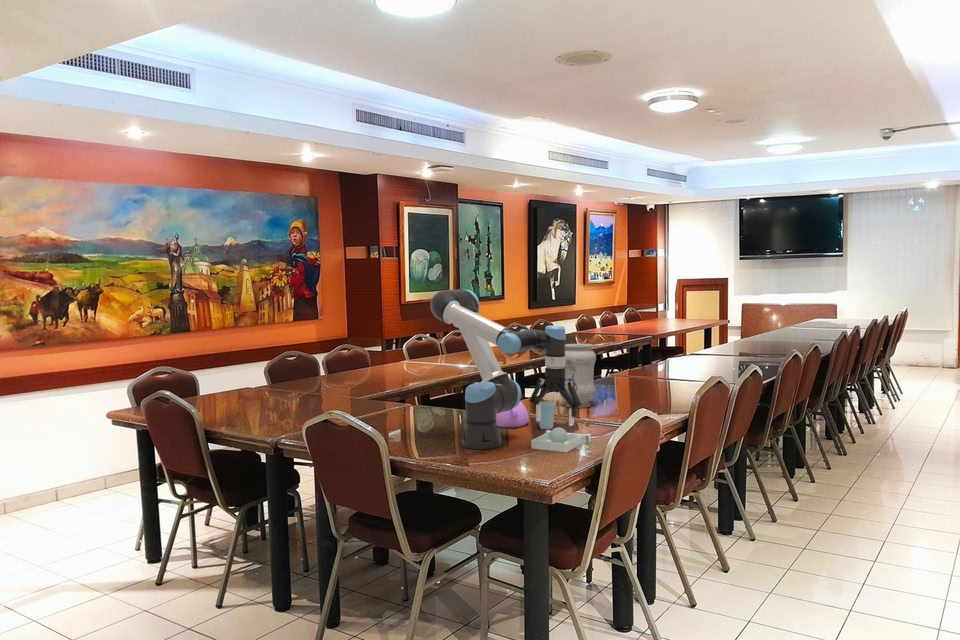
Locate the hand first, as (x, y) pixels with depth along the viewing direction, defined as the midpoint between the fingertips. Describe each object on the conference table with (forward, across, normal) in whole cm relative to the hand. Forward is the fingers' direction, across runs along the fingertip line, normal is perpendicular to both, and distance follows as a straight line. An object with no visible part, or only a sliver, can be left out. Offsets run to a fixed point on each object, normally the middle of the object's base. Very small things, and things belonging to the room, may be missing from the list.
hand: (554, 423), depth 259 cm
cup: (+9, -16, +26) cm, 32 cm away
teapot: (+10, -33, +26) cm, 43 cm away
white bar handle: (+9, +1, +9) cm, 12 cm away
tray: (+9, +1, 0) cm, 9 cm away
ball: (+8, +1, 0) cm, 8 cm away
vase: (+10, -23, +76) cm, 80 cm away
